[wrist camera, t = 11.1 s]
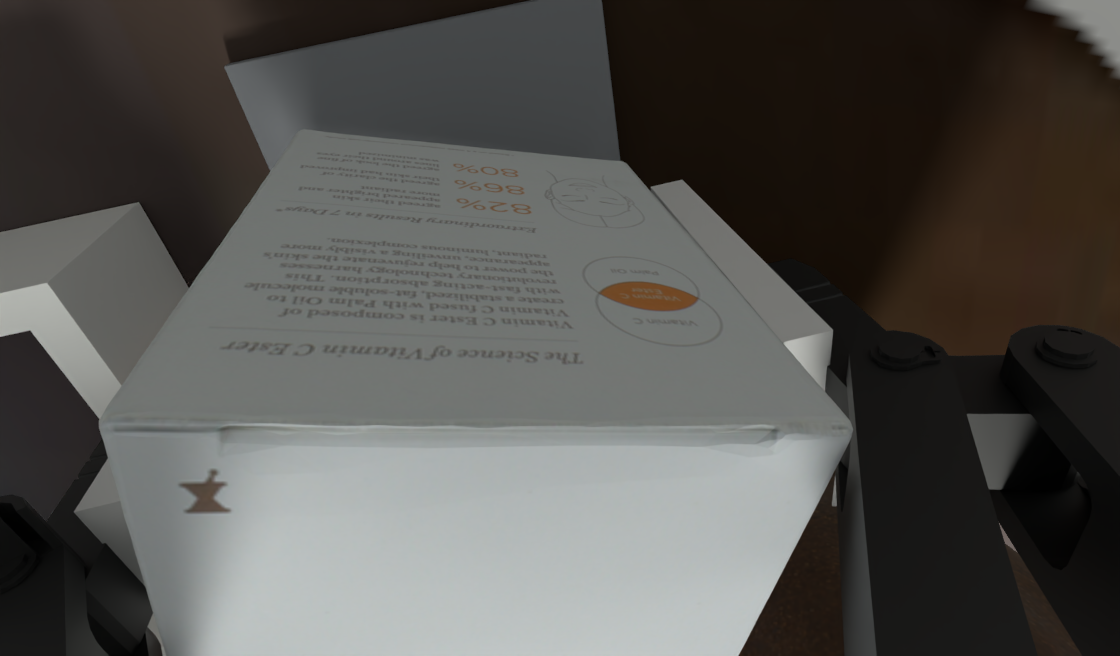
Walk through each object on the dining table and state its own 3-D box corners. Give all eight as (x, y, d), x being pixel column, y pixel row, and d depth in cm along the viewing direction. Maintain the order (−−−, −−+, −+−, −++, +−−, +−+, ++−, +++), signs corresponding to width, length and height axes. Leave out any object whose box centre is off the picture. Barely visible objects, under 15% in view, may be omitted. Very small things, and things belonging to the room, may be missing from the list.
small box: (309, 328, 17) (168, 755, 8) (296, 119, 14) (58, 427, 5) (592, 340, 19) (728, 702, 10) (632, 157, 16) (874, 435, 7)
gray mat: (359, 361, 22) (358, 369, 21) (229, 63, 16) (224, 66, 16) (633, 297, 22) (637, 304, 22) (596, -14, 17) (600, -12, 16)
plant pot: (449, 467, 25) (462, 1063, 12) (739, 212, 21) (1248, 679, 8) (668, 593, 32) (828, 1053, 19) (915, 421, 28) (1337, 849, 15)
